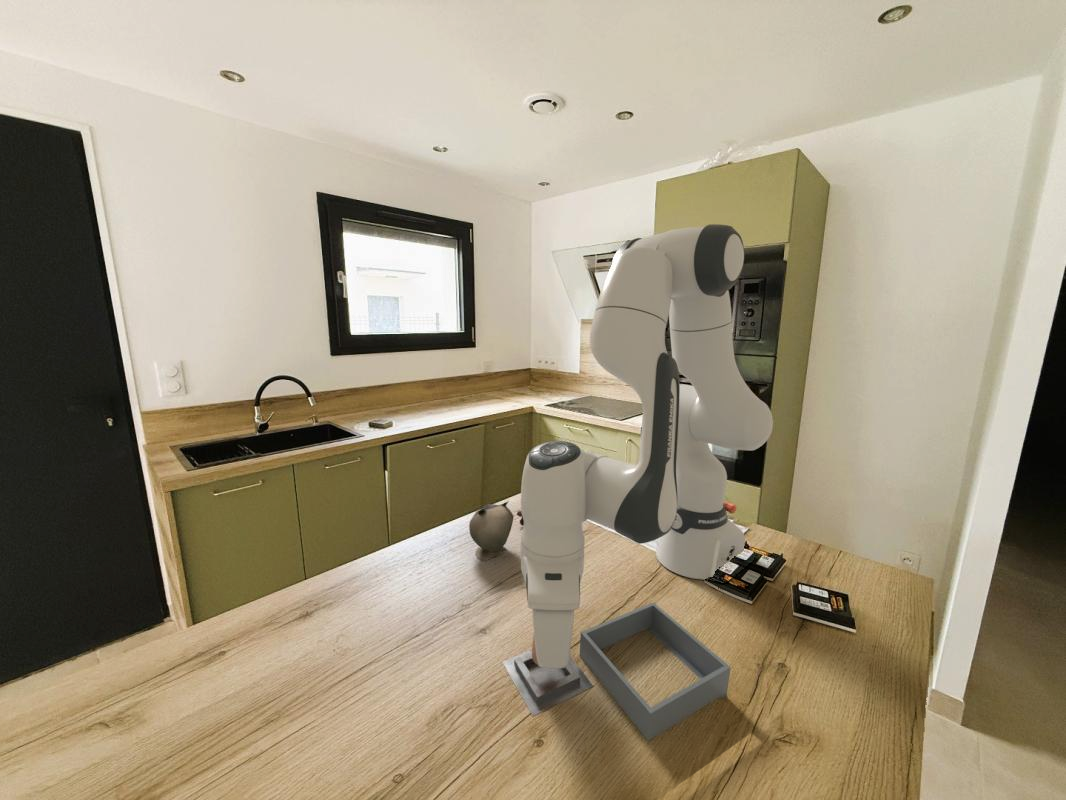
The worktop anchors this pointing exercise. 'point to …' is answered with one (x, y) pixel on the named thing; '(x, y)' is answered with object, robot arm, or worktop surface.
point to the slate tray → (680, 644)
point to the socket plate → (545, 682)
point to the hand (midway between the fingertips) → (550, 641)
